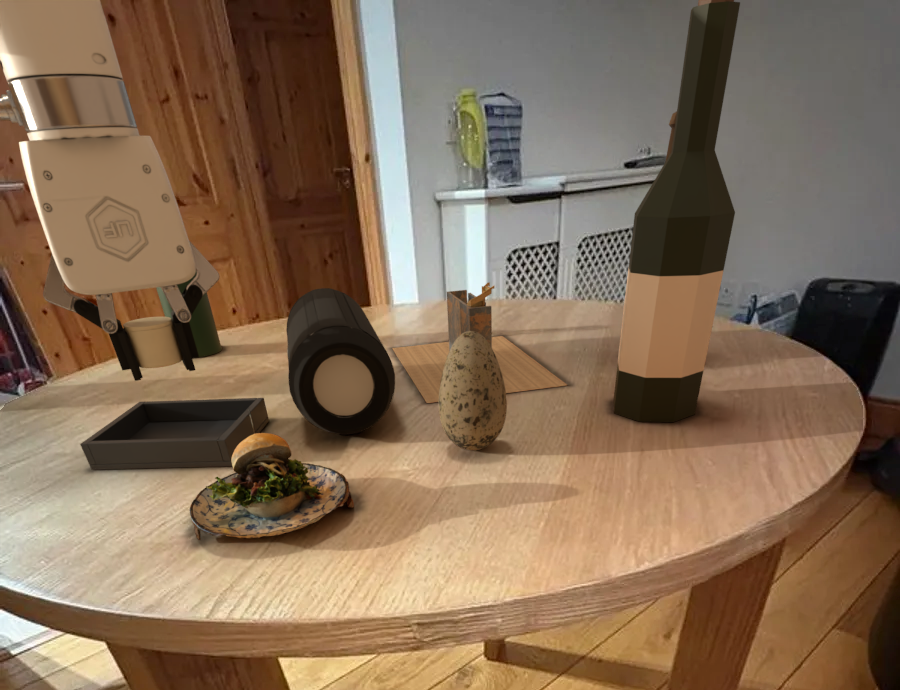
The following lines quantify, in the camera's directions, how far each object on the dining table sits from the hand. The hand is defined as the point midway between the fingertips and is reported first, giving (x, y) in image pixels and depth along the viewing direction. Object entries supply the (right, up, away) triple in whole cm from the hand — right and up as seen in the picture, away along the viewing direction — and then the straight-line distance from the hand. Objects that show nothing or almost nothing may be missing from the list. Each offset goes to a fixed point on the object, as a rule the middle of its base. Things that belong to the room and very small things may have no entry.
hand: (163, 369), depth 54 cm
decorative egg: (+28, -7, 0) cm, 29 cm away
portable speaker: (+14, +1, +12) cm, 19 cm away
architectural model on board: (+29, +9, +22) cm, 37 cm away
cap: (0, +1, 0) cm, 1 cm away
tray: (0, -6, +4) cm, 7 cm away
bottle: (-11, +16, +34) cm, 39 cm away
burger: (+13, -15, -9) cm, 21 cm away
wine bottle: (+47, -2, +6) cm, 47 cm away
